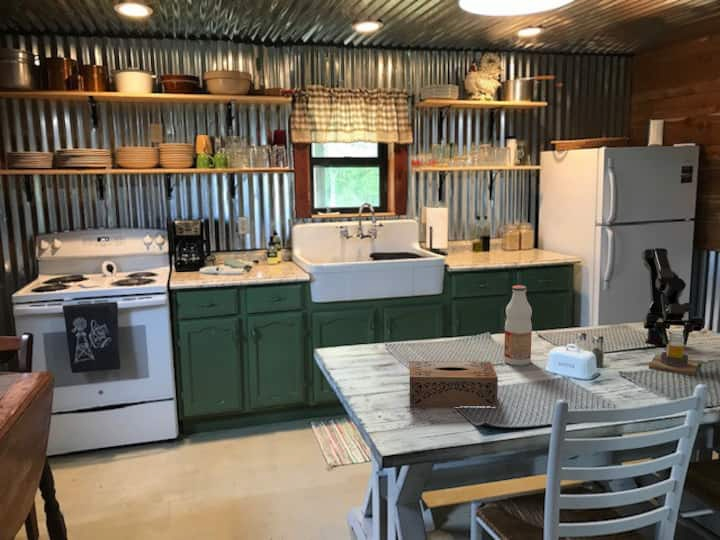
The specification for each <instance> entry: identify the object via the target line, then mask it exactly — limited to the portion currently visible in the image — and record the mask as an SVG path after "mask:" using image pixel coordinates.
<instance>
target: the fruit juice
mask: <svg viewBox="0 0 720 540" xmlns="http://www.w3.org/2000/svg"><path fill="white" fill-rule="evenodd" d="M511 290H512V295H511V298H510V300H509V302H508V304H507V306H506V308H505V315H506V319H505V323H504V343H503V344H504V346H503V347H504V348H503V349H504V350H503V351H504V353H503V355H504V357H503V359H504V360H503V361H504V363H506V364H509V365H512V366H527V365H529V364H530V363H531V362H532V361H531V360H532V334H533V333H532V331H533V330H532V329H533V328H532V327H533V325H532V321H531V318H532V314H533V312H532V310H533V309H532V307H531V305H530V303H529V301H528V299H527V294H526V292H527V286H526V285H512V286H511Z"/></svg>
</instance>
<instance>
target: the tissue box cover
mask: <svg viewBox="0 0 720 540" xmlns="http://www.w3.org/2000/svg"><path fill="white" fill-rule="evenodd" d="M498 382H499V377H498V374H497V373H496V370H495V367H494V366H493V363H492V361H476V360H475V361H469V360H468V361H467V360H466V361H465V360H464V361H463V360H462V361H461V360H460V361H459V360H457V361H455V360H454V361H453V360H450V361H449V360H445V361H443V360H441V361H439V360H437V361H436V360H427V361H426V360H409V408H410V409H455V408H454V407H460V406H486V407H487V406H491V407H494V406H495V407H497V408H498V387H499V386H498V385H499V384H498Z"/></svg>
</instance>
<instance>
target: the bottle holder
mask: <svg viewBox="0 0 720 540" xmlns="http://www.w3.org/2000/svg"><path fill="white" fill-rule="evenodd" d="M699 363H700V361H699V360H694V359H689V355H688V354H686V353H683V358H673V357H668V356H666V351H662V352H661V354H655V355H654V356H653V358H652V359H651V361H650V363H649V364H648V369H651V370H658V371H664V372H670V373H677V374H683V375H689V376H695V374H696V372H697V369H698V366H699Z"/></svg>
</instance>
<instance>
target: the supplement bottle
mask: <svg viewBox="0 0 720 540" xmlns="http://www.w3.org/2000/svg"><path fill="white" fill-rule="evenodd" d="M684 350H685V345H684V340H683V334H680V333H674V332H673V333H670V334H669V339H668V344H666V351H665V352H666V356H668V357H673V358H683V354H685V353H684Z"/></svg>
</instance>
